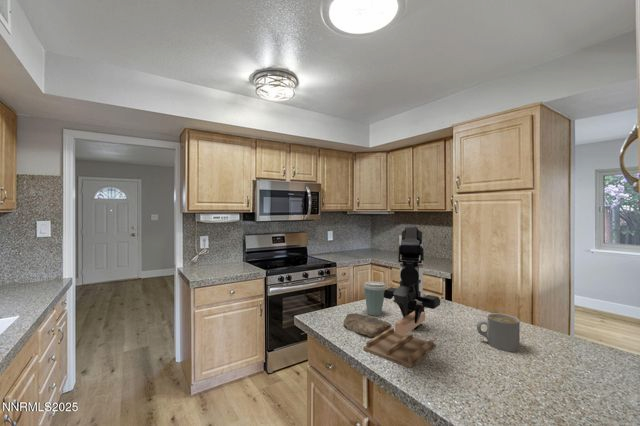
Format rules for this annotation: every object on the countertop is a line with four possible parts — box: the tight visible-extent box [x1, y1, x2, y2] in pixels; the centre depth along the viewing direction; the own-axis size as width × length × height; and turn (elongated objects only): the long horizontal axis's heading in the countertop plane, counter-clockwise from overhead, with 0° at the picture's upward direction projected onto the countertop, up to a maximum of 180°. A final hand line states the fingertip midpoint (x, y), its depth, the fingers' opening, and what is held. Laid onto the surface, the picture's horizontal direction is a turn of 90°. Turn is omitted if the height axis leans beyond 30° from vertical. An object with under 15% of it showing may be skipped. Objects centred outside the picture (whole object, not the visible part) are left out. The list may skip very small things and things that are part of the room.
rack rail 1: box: [365, 326, 395, 348], centre depth 113 cm, size 18×1×2 cm, turn 137°
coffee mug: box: [476, 312, 521, 353], centre depth 110 cm, size 13×10×10 cm
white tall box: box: [398, 234, 424, 297], centre depth 161 cm, size 11×11×35 cm
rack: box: [363, 330, 437, 369], centre depth 107 cm, size 20×18×1 cm
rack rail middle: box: [386, 332, 414, 355], centre depth 107 cm, size 18×1×2 cm, turn 137°
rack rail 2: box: [408, 338, 435, 363], centre depth 102 cm, size 18×1×2 cm, turn 137°
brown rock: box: [343, 313, 393, 338], centre depth 126 cm, size 14×5×20 cm
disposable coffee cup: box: [363, 281, 387, 317], centre depth 142 cm, size 11×11×15 cm
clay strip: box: [394, 311, 426, 335], centre depth 104 cm, size 16×4×3 cm, turn 138°
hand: (410, 321), depth 104 cm, fingers closed on clay strip, 4 cm apart
